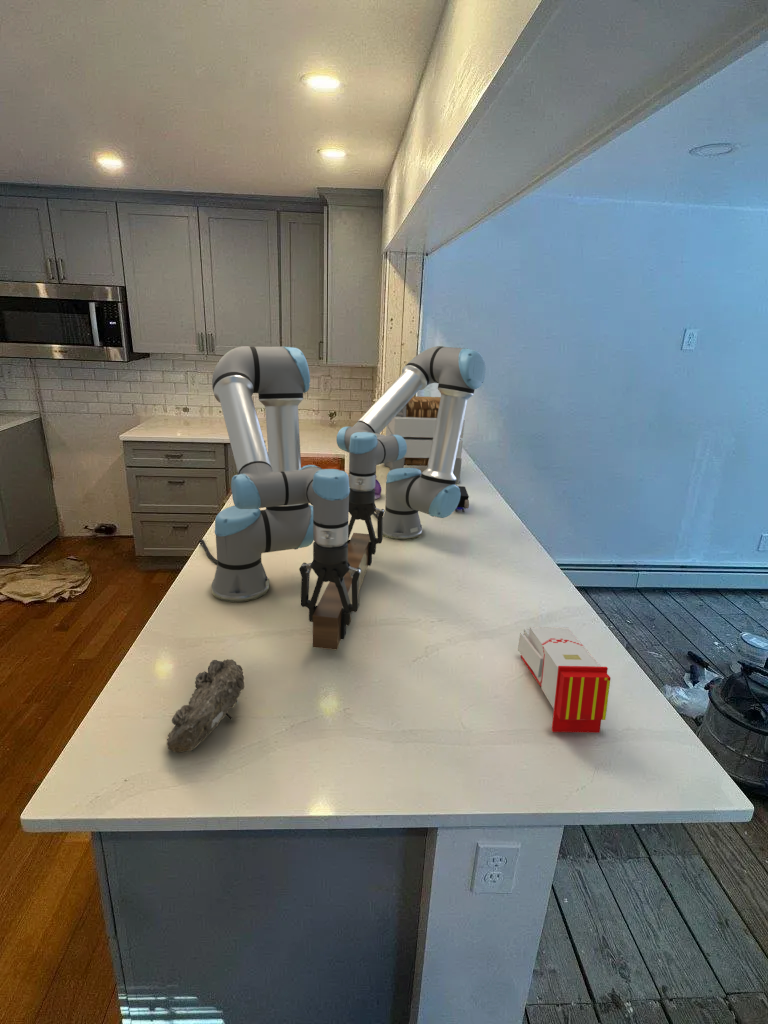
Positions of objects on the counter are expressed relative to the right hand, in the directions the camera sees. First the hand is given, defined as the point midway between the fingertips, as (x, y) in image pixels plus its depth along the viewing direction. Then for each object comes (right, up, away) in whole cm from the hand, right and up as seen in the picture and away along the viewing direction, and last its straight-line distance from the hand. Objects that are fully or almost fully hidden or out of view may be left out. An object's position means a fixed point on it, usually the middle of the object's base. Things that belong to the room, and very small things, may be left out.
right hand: (359, 562), depth 167 cm
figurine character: (+37, +16, +61) cm, 74 cm away
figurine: (+2, +21, +69) cm, 72 cm away
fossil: (-25, -24, -59) cm, 69 cm away
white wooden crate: (+25, +34, +108) cm, 115 cm away
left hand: (-5, -13, -38) cm, 40 cm away
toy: (+43, -23, -47) cm, 68 cm away
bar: (-3, -7, -19) cm, 20 cm away
